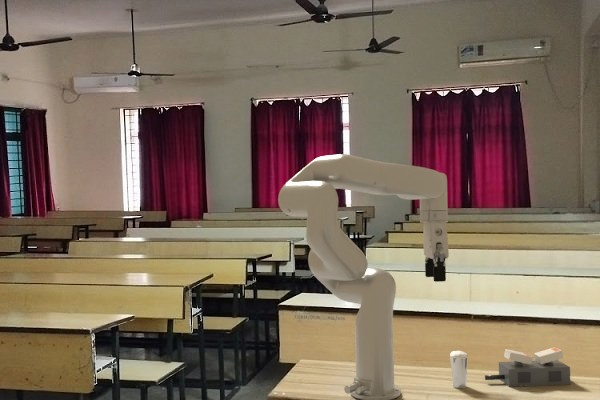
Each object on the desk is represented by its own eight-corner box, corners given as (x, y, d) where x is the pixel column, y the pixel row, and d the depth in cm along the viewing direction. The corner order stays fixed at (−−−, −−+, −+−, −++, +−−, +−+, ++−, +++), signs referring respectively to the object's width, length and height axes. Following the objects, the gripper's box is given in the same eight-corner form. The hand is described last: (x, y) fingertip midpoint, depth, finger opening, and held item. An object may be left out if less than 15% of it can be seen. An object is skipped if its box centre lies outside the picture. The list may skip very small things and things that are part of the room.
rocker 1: (509, 359, 156) (510, 352, 156) (503, 356, 159) (505, 348, 159) (531, 364, 156) (532, 356, 156) (525, 360, 159) (527, 353, 159)
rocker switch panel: (490, 387, 153) (490, 367, 153) (481, 379, 161) (480, 359, 161) (570, 384, 154) (570, 364, 154) (557, 376, 161) (557, 356, 161)
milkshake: (472, 389, 152) (471, 350, 152) (450, 388, 153) (449, 349, 153) (471, 384, 157) (470, 346, 157) (450, 383, 158) (449, 345, 158)
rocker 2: (541, 364, 156) (539, 356, 156) (535, 360, 159) (533, 353, 159) (563, 357, 156) (561, 350, 156) (556, 354, 160) (554, 347, 160)
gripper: (455, 217, 158) (457, 282, 157) (439, 216, 175) (441, 274, 175) (427, 218, 157) (429, 283, 157) (413, 216, 175) (415, 275, 175)
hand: (435, 279), depth 166 cm, fingers open, 9 cm apart
